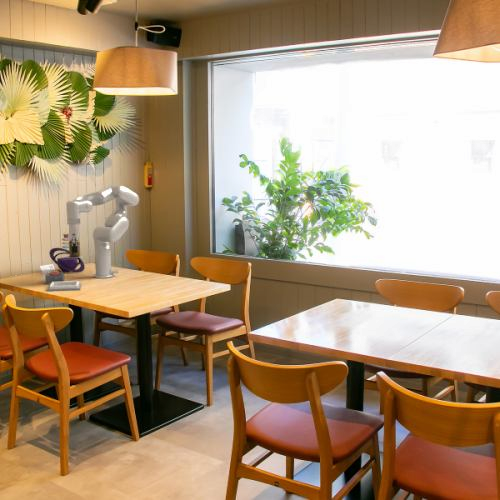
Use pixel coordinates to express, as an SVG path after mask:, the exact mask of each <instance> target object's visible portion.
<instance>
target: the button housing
mask: <svg viewBox="0 0 500 500" xmlns="http://www.w3.org/2000/svg"><path fill="white" fill-rule="evenodd" d="M44 276H45V277H44V279H45V281H44V282H45V283H44V284H45V285H50V284H51V283H52V282H62V281H65V272H62V271H61V272H60V271H59V275H50V272H47V273H45V275H44Z"/></svg>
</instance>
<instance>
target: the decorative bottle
mask: <svg viewBox="0 0 500 500" xmlns="http://www.w3.org/2000/svg"><path fill="white" fill-rule="evenodd" d="M61 240H62V242H61V244H62V245H63V246H62V248H61V247H53V248H51V249H50V250H49V252H48V253H49V257H50V259H51V260H52V261H53V262H54V264H56V266H57V267H58V269H59V270H60V271H61V272H64V273H82V272H83V271H84V270H85V263H84V262H83V259H81V257H78V258H71V257H67V256H65V257H59V258H57V257H58V256H60V255H64V254H66V255H69V250H68V249H69V233H63V238H62V239H61ZM63 241H64V242H63ZM55 252H58V253H56V254H55ZM79 265H80V266H79ZM78 266H79V268H77V267H78Z"/></svg>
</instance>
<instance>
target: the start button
mask: <svg viewBox="0 0 500 500" xmlns="http://www.w3.org/2000/svg"><path fill="white" fill-rule="evenodd" d="M59 272H60V271H59V270H50V272H49V273H50V275H59Z"/></svg>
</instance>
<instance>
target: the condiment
mask: <svg viewBox="0 0 500 500" xmlns="http://www.w3.org/2000/svg"><path fill="white" fill-rule="evenodd" d="M79 238H80V237H78V241H77V251H78V252H77V253H72V240H71V241H68V242H69V244H68V246H69V248H68V249H69V250H68V251H69V254H68V255H67V256H66V257H71V258H78V257H79V258H84V256H82V255H81V249H80V247H81V245H80V240H79ZM75 241H76V240H75Z"/></svg>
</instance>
